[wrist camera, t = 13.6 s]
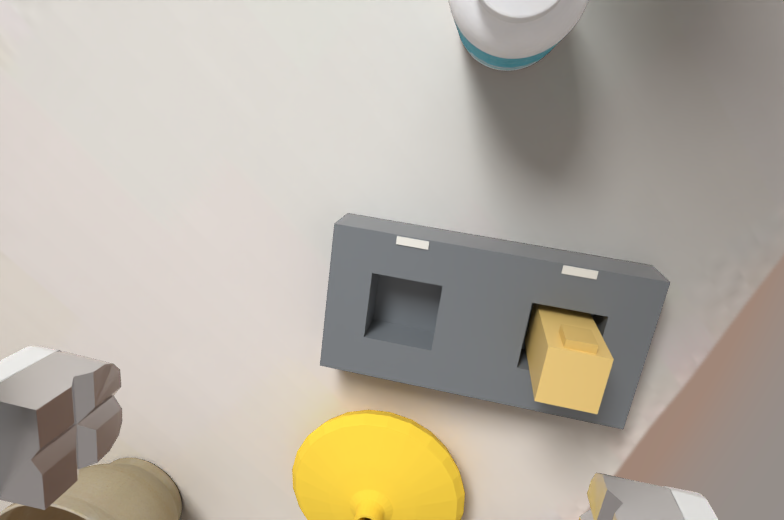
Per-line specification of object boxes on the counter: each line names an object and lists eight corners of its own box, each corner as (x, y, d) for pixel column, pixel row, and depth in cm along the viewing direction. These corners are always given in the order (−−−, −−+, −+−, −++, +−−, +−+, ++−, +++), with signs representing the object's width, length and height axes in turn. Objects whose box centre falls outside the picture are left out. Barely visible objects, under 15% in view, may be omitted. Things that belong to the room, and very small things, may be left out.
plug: (536, 289, 41) (550, 338, 32) (588, 299, 40) (616, 350, 32) (524, 341, 42) (534, 401, 34) (574, 351, 42) (597, 414, 33)
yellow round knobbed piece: (481, 417, 45) (481, 470, 39) (449, 553, 50) (443, 622, 44) (311, 378, 47) (283, 422, 41) (295, 513, 52) (268, 572, 46)
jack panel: (347, 213, 42) (334, 223, 38) (652, 265, 39) (670, 282, 35) (333, 344, 46) (319, 366, 42) (610, 401, 43) (623, 430, 39)
